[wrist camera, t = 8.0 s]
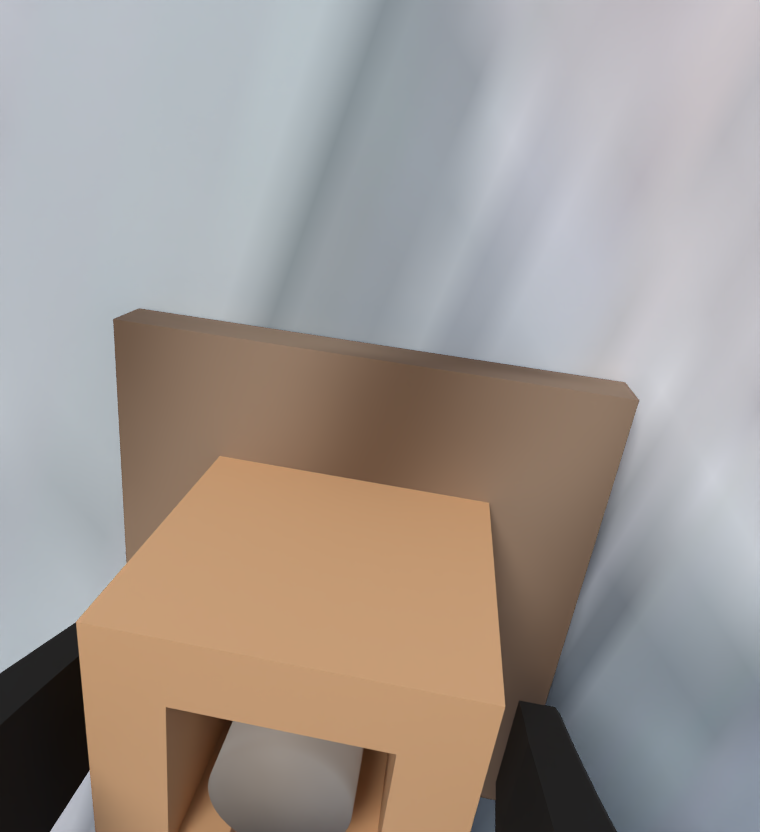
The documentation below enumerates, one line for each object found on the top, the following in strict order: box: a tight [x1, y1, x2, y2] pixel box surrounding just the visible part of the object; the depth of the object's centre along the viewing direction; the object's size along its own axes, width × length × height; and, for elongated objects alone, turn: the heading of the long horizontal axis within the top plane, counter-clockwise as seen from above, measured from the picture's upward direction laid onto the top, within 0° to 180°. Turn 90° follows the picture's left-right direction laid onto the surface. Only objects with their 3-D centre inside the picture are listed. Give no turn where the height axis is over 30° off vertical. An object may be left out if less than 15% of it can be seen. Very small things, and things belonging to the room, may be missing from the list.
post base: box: [113, 309, 639, 832], centre depth 12 cm, size 10×11×6 cm
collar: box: [76, 456, 505, 832], centre depth 11 cm, size 6×6×5 cm
